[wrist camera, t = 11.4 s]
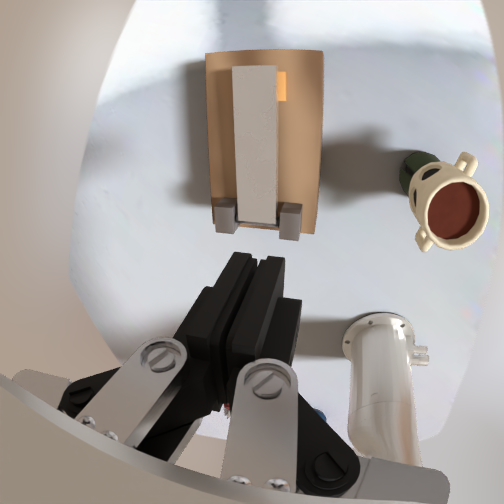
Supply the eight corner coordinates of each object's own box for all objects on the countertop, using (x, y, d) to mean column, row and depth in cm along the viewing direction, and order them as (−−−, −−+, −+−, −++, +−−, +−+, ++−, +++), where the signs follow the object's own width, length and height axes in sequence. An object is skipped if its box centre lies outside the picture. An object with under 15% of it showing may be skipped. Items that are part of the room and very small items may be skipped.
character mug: (416, 123, 30) (456, 141, 19) (461, 152, 30) (511, 184, 19) (378, 198, 36) (396, 247, 25) (423, 222, 36) (452, 277, 25)
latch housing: (323, 57, 29) (321, 46, 22) (317, 214, 39) (312, 246, 32) (224, 58, 32) (193, 50, 24) (228, 205, 42) (203, 234, 34)
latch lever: (281, 65, 24) (279, 65, 23) (280, 224, 33) (278, 229, 32) (232, 66, 25) (228, 66, 24) (239, 220, 34) (235, 225, 33)
